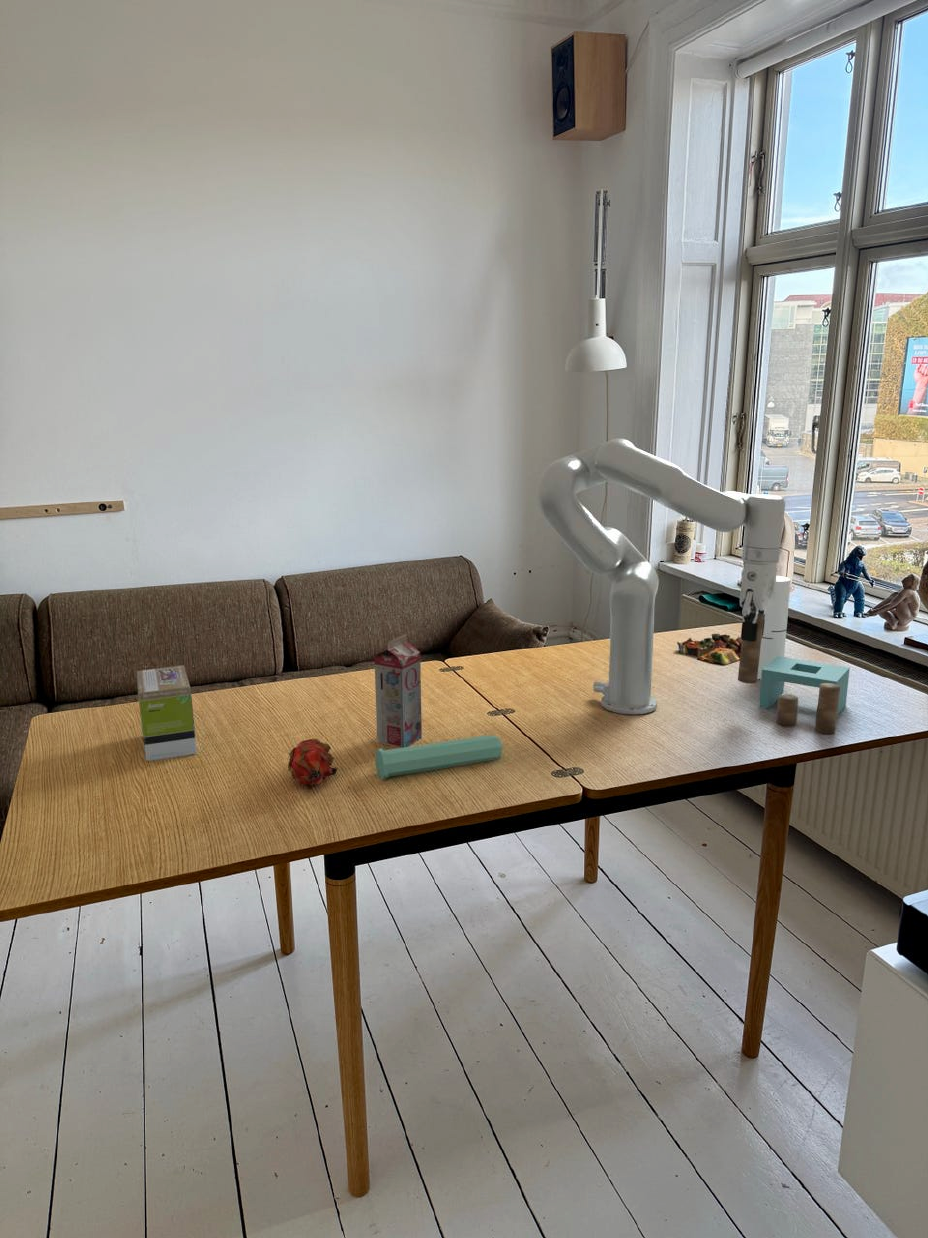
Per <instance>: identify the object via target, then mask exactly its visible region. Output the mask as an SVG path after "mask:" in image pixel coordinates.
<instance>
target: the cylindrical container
mask: <svg viewBox="0 0 928 1238" xmlns="http://www.w3.org/2000/svg"><path fill="white" fill-rule="evenodd" d="M791 579H792V578H790V577H788V576H782V575H776V588H775V600H774V603H773V604H772V605H770V606H769V607H767V608H766V614H765V618H764V619H765V623H764V632H763V636H762V640H761V649H760V658H759V667H758V676H757V680H758V679H761V676H762V669H763V668H764V667H765V666H767V665H768V664H769V663H770V662H771V661H772V660H774V659H775V658H776V657H777V656H780V657H785V651H786V641H787V627H788V617H789V616H788V615H789V606H790V605H789V603H790V593H791V591H790V590H791V581H792V580H791Z"/></svg>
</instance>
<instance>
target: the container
mask: <svg viewBox="0 0 928 1238" xmlns="http://www.w3.org/2000/svg"><path fill="white" fill-rule="evenodd" d="M502 754H503V744H502V741H501V739H500V738H499V737H498V736H496V735H493V734H488V735H487V734H486V735H480V736H475V737H474V736H473V737H468V738H467V737H466V738H461V739H453V740H447V741H441V742H440V741H439V742H432V743H426V744H419V745H412V746H411V745H410V746H408V747H404V748H399V747H397V748H393V749H386V750H384V749H383V748H382V747H381V748H377V749H376V751H375V754H374V758H375V763H374V764H375V768H376V772H377V775H378V777H379V778H380V779H381V780H388V778H389V777H397V776H402V775H408V774H415V773H416V774H417V773H421V772H428V771H435V770H440V769H441V770H442V769H447V768H452V767H457V766H459V767H460V766H465V765H471V764H476V763H484V762H488V761H489V762H490V761H495V760H497V759H499V758H500V757H501V756H502Z"/></svg>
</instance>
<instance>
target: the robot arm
mask: <svg viewBox="0 0 928 1238" xmlns="http://www.w3.org/2000/svg"><path fill="white" fill-rule="evenodd" d="M607 482H613V483H615V484H617V485H619V486H621V487H624V488H627V489H628V490H631V491H632V492H635V493H637V494H640V495H642V496H644V497H646V498H648V499H651V500H653V501H655V502H657V503H659V504H660V505H662V506H664V507H666V508H668V509H669V510H672V511H674V512H676V513H678V514H680V515H681V516H684V517H685V518H687V519H689V520H691V521H694V522H695V523H697V524H701V525H703V526H705V527H707V528H709V529H712V530H714V531H717V532H721V533H731V532H734V531H736V530H738V529H739V528H741V527H742V526H744V533H743V534H744V535H743V542H742V543H743V545H742V551H741V553H742V555H741V561H743V562H744V567H743V572H742V578H741V585H740V593H739V594H740V595H739V606H740V607H741V608H742V610H741V612H742V613H741V614H742V620H741V621H742V623H741V631H740V637H741V639H742V640H747V641H753V642H755V641H756V638H757V629H758V623H756V622H757V617H758V612H759V613H763V614H764V618H765V614H766V608H767V607H769V606H770V605H772V604H773V603H774V600H775V588H776V576H777V564H779V563H780V557H781V556H780V555H781V546H782V538H783V528H784V519H785V512H786V501H785V499H784V498H783V497H782V496H779V495H773V494H749V493H744V492H739V491H731V490H725V491H722V492H721V491H719V490H716V489H714V488H712V487H709V486H707V485H705V484H703V483H701V482H700V481H697V480H696V479H695V478H692V477H691V476H690V475H688V474H687V473H686V472H685V471H683V470H682V468H680V467H679V466H677V465H676V464H675V463H673V462H670V461H668V460H665V459H663V458H660V457H657V456H655V455H653V454H651V453H648V452H646V451H644V450H642V449H640V448H638V447H636V446H635V445H634V444H633V443H632V442H631V441H629V440H627V439H625V438H621V437H619V438H613V439H610V440H608V441H606V442H603V443H600V444H598V445H595V446H593V447H590V448H588V449H587V448H586V449H584V450H581V451H578V452H575V453H573V454H570V455H566V456H564V457H561V458H558V459H556V460H555V461H553V462H552V463H550V464H549V465H548V466H547V467H546V468H545V470H544V471H543V473H542V474H541V477H540V479H539V481H538V487H537V494H536V496H537V497H536V498H537V504H538V507H539V511H540V513H541V515H542V516H543V518H544V520H545V521H546V523H547V525H549V527H550V528H551V529H553V531H554V532H555V533H556V534H557V536H559V538H560V539H561V540H562V541H563V543H564V544H565V545H566V546H567V547H568V549H569V550H570V551H571V552H572V553H573V554H574V555H575V556H576V557H577V558H578V560H579V561H580V562H581V563H582V564H583V566H584V567H585V568H586V569H587V570H588V571H589V572H591V573H592V574H595V575H597V576H598V575H599V576H606V578H607V579H608V580H609V581H610V583H612V584H611V587H610V595H609V607H610V609H609V610H610V613H609V614H610V621H609V622H610V627H609V628H610V629H609V631H610V633H609V657H608V658H609V662H608V663H609V664H608V681H607V682H606V683H605V682H604V681H598V680H595V681H594V682H593V686H592V687H593V692H595V693H599V694H602V695H603V696H602V697H601V700H600V705H601V706H602V707H603V708H604V709H606V710H607V711H609V712H613V713H616V714H617V713H618V714H621V715H622V714H623V715H644V714H648V713H651V712H654V711H655V710H656V709H657V708H658V701H657V699H656V698H654V697H653V696H651V695H652V694H651V693H652V674H653V672H652V671H653V659H654V655H653V654H654V653H653V652H654V634H655V633H654V632H655V630H654V629H655V628H654V627H655V600H656V595H657V593H658V589H659V583H660V580H659V575H658V573H657V571H656V569H655V568H654V567H653V565H652V564H651V563H650V562H649V561H648V560H647V559H646V557H645V556H644V555H643V554H642V553H641V552H640V551H639V550H638V549H637V547H636V546H635V545H634V544H633V543H632V542H631V540H629V539H628V537H627V536H626V535H624V533H623V532H621V531H620V530H618V529H616V528H614V527H609V526H603V525H602V524H601V523H600V522H599V521H598V520H597V519H596V518H595V517H594V516H593V514H592V513H591V512H590V511H589V510H588V509H587V508H586V507H585V506H584V505H583V504H582V503H581V502H580V501H579V498H578V496H577V494H578V493H580V492H582V491H584V490H587V489H590V488H593V487H596V486H599V485H602V484H604V483H607ZM752 612H754V616H753V613H752ZM764 623H765V619H764V622H763V631H762V636H763V632H764Z"/></svg>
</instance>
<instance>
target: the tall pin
mask: <svg viewBox="0 0 928 1238" xmlns="http://www.w3.org/2000/svg"><path fill="white" fill-rule="evenodd" d="M752 613H753V616H754V612H752ZM763 622H764V614H763V613H759V612H758V617H757V622H756V623H758V629H757V638H756V641H755V642H753V641H747V640H742V644H741V654H740V660H739V665H738V675H737V681H738V682H740V683H743V684H756V683H757V682H758V679H757V676H758V667H759V658H760V649H761V640H762V631H763Z"/></svg>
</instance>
